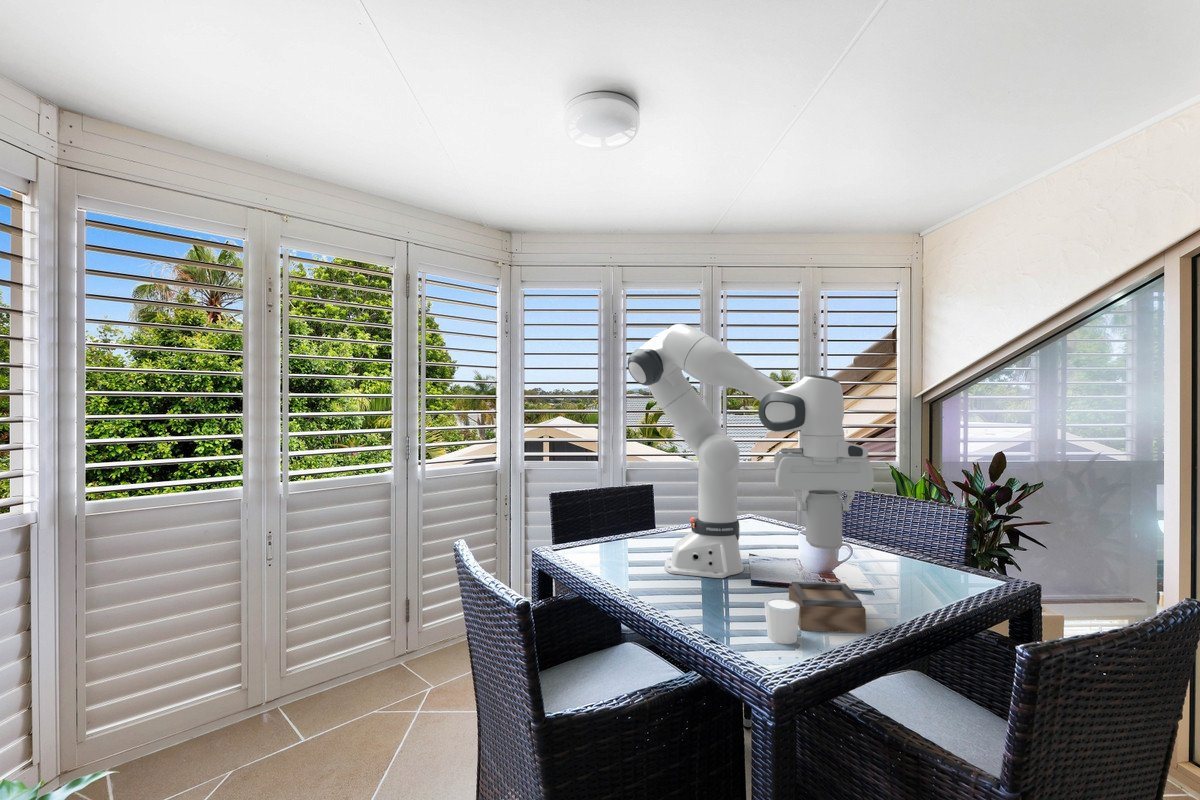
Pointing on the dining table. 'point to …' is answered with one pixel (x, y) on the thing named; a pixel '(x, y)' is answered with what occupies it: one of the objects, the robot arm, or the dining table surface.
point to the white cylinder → (782, 620)
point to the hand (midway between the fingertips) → (823, 510)
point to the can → (824, 519)
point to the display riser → (828, 607)
